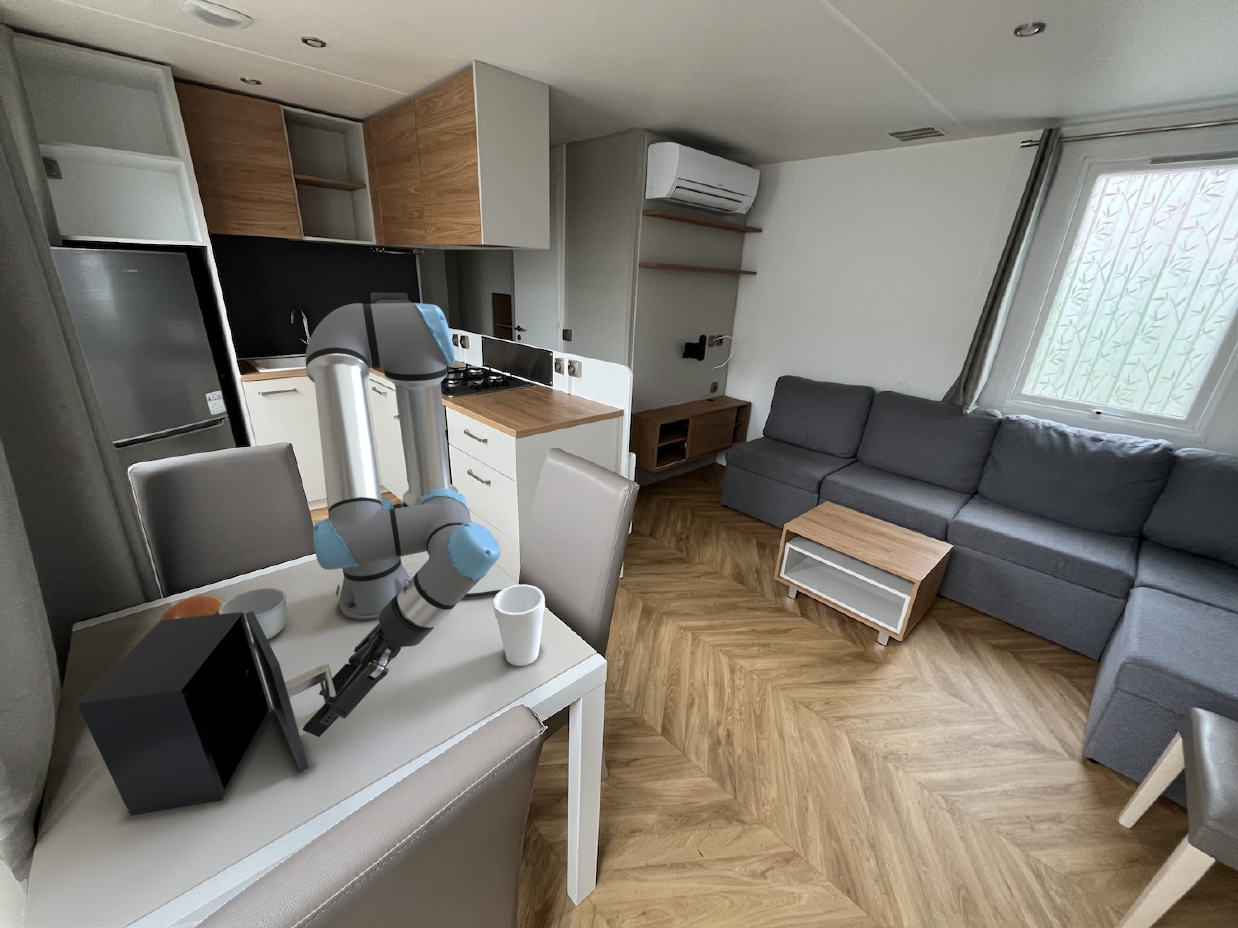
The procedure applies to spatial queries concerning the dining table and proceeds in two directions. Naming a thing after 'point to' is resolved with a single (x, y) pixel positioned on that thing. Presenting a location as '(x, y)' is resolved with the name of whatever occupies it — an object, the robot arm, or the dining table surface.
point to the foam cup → (520, 622)
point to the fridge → (179, 712)
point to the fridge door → (288, 689)
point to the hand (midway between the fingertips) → (320, 712)
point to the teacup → (261, 608)
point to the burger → (193, 608)
